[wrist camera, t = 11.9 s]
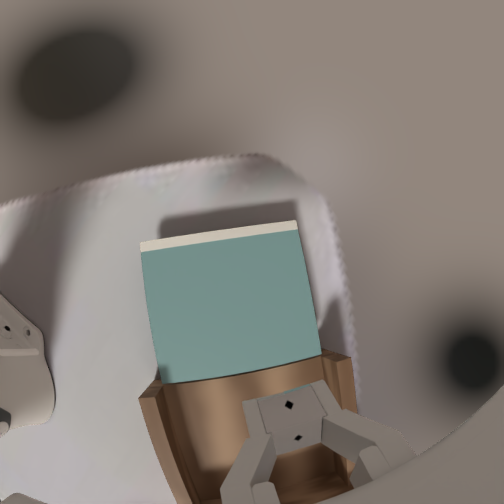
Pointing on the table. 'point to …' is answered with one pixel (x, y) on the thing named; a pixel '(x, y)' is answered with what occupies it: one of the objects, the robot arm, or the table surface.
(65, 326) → the table surface
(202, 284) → the teal flat panel
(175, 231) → the table surface
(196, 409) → the wooden drawer
